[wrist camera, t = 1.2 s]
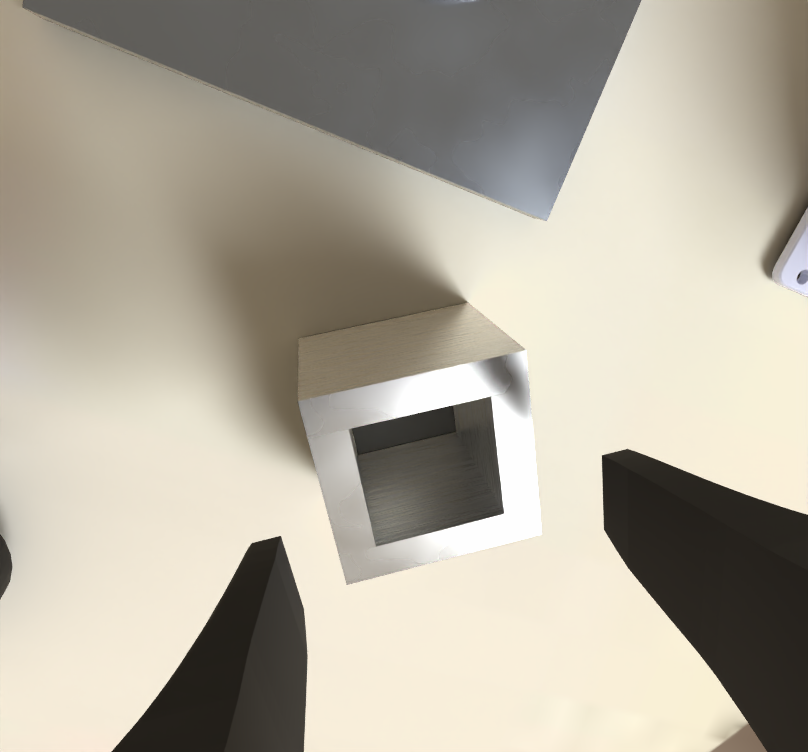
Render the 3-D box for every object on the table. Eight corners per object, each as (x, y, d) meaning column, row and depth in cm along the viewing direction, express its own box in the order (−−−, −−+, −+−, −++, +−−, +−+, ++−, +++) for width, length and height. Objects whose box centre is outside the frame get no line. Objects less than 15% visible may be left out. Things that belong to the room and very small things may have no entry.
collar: (468, 302, 18) (526, 350, 13) (486, 449, 20) (541, 534, 15) (298, 338, 17) (297, 401, 13) (336, 485, 19) (346, 584, 15)
